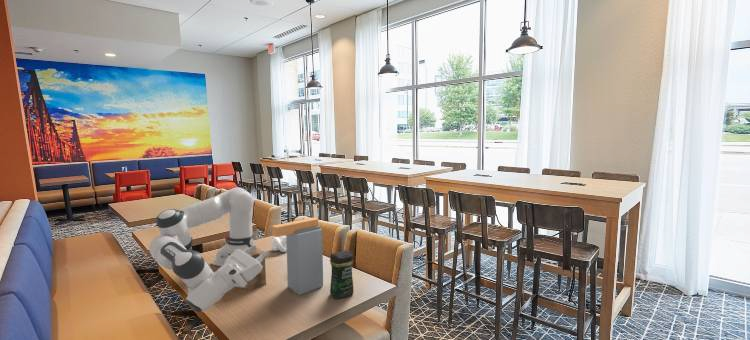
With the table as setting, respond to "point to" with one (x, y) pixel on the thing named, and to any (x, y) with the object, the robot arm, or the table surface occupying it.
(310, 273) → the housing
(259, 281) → the brown piece
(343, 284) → the coffee jar
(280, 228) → the tan wooden bar
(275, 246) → the crumpled paper ball
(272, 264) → the table surface
